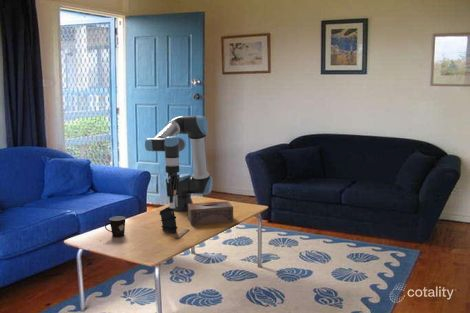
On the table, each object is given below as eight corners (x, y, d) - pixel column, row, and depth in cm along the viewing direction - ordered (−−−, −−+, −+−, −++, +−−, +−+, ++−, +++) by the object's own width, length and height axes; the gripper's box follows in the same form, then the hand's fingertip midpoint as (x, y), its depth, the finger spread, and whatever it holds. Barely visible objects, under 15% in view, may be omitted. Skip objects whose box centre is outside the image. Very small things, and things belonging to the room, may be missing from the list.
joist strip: (185, 229, 276) (185, 229, 276) (189, 230, 275) (189, 229, 275) (174, 238, 261) (174, 237, 261) (178, 238, 260) (178, 238, 260)
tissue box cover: (191, 225, 285) (190, 209, 283) (188, 219, 299) (187, 203, 297) (233, 222, 290) (233, 206, 289) (228, 216, 304) (228, 201, 303)
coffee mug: (125, 232, 272) (124, 215, 271) (127, 237, 264) (126, 219, 263) (104, 235, 268) (103, 217, 267) (105, 239, 260) (104, 221, 259)
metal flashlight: (171, 206, 263) (171, 189, 262) (177, 207, 262) (177, 189, 261) (169, 208, 260) (168, 190, 259) (175, 208, 259) (174, 190, 258)
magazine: (174, 232, 266) (167, 206, 269) (163, 237, 276) (157, 212, 279) (180, 231, 268) (173, 205, 271) (169, 235, 278) (162, 211, 281)
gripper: (172, 162, 266) (173, 203, 270) (159, 167, 251) (160, 210, 255) (184, 163, 264) (185, 204, 268) (172, 167, 249) (173, 211, 253)
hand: (173, 207), depth 261 cm, fingers closed on metal flashlight, 3 cm apart
